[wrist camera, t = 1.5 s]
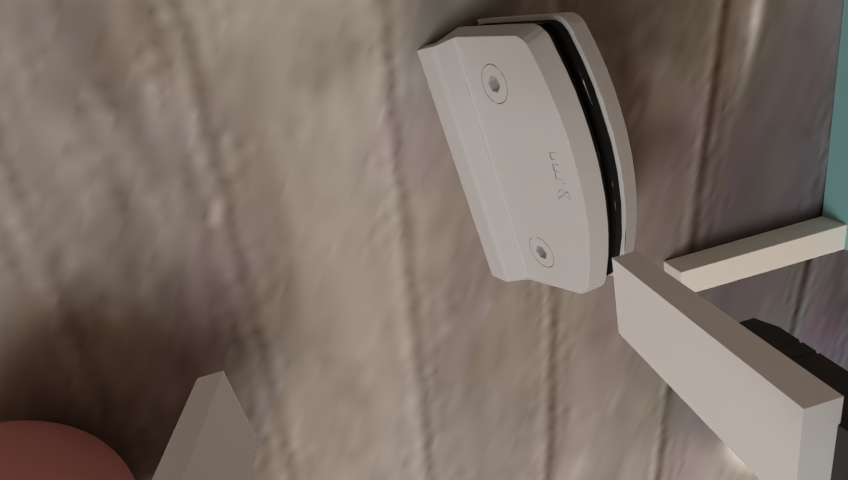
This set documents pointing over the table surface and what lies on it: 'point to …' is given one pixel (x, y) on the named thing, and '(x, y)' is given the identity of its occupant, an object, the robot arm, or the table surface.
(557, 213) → the grey half-round casing
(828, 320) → the table surface
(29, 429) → the balloon
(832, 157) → the guide bay
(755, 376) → the robot arm
